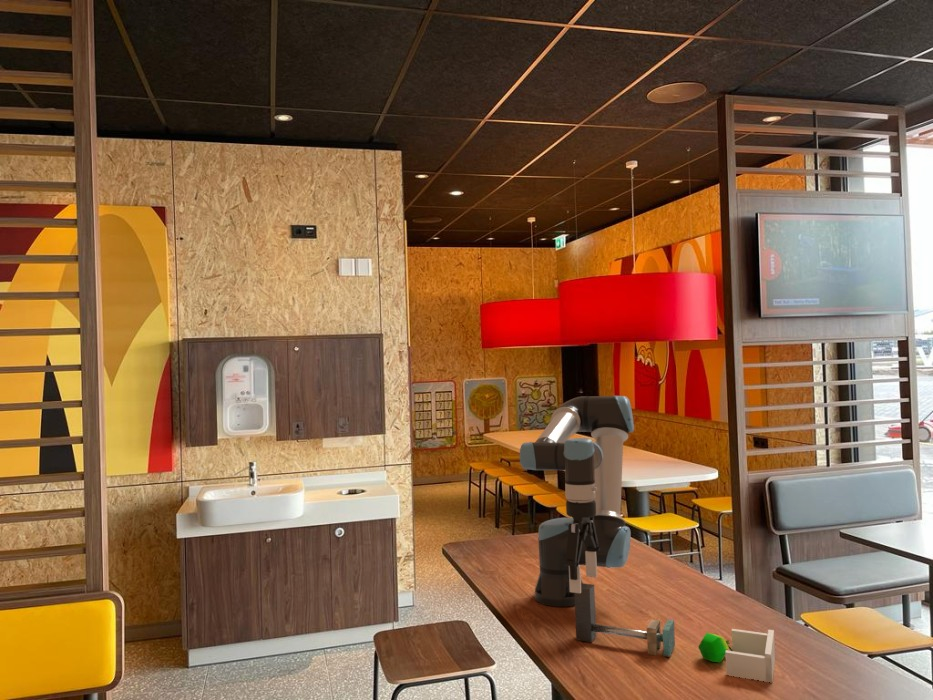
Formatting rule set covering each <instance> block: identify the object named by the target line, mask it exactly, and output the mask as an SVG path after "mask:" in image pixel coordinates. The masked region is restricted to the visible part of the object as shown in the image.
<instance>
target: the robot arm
mask: <svg viewBox="0 0 933 700" xmlns="http://www.w3.org/2000/svg"><path fill="white" fill-rule="evenodd" d="M631 405H632V404H631V402H630V399H629V398H628V397H627V396H625V395H600V396H598V395H597V396H595V395H594V396H591V395H590V396H588V395H585V396H583V395H581V396H577V397H574V398H572V399H569V400H566V401H565V402H563V403H562V404H560V405H559V406H558V407H557V408H556V409H555V410H554V411H553V412H552V414H551V418H550V422H549V423H548V424H547V425H546V427H545V429H544V430H543V431H542V433H540V435H539V436H538V438H537V439H536V441H534V442H532V441H529V442H523V443H522V444H521V445H520V447H519V463H520V466H521V468H522V469H523V470H530V471H531V470H532V471H564V478H565V481H564V483H565V485H564V486H565V487H564V488H565V490H564V491H565V499H566V501H565V513H566V515H567V516H568V517H567V516H566V517H557V518H552V519H549V520H548V519H547V520H545V521H543V522H541V523H540V524H539V527H538V537H537V541H538V558H539V559H538V560H539V561H538V562H539V574H538V578H537V580H536V585H535V589H534V599H535V600H536V602H537V603H539V604H542V605H545V606H549V607H556V608H557V607H558V608H559V607H562V608H563V607H573V606H574V607H575V595H574V593H581V583H583V580H582V577H581V575H582V573H581V566H585V577H586V578H587V577H588V578H594V579H596V578H598V567H599V568H600V567H601V568H602V567H603V568H607V569H610V568H622V567H624V566H625V565H626V564H627V561H628V559H629V554H630V550H631V535H632V534H631V533H632V532H631V529H630V526H627V525H626V520H625V519H624V518H623V517H622V515H621V509H622V508H621V507H622V488H623V487H622V486H623V485H622V484H623V482H622V481H623V461H624V460H623V455H624V443H625V442H626V441H627V440H628V439H629V433H630V434H631V433H634V431H635V425H634V424H635V423H634V418H633V417H634V415H633V411H632V406H631ZM581 432H583V433H585V432H586V433H590V435H591V437H592V439H593V440H595V442H594V441H593V440H592V439H591V438H585V437H584V438H581V437H578V438H577V437H576V438H570V437H572V435H575V434H576V433H581Z"/></svg>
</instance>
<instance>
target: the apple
mask: <svg viewBox="0 0 933 700" xmlns="http://www.w3.org/2000/svg"><path fill="white" fill-rule="evenodd" d="M729 644H730V645H731V642H730V640H729V639H728V640H725V637H723V636H721V635H719V634H714V633H709V632H706V633H705V635H704V636H703V637H702V639H701V641H700V642H699V645H698V649H699V652H700V654H701V656H702V658H703V659H705V660H707V661H710V662H714V663H722V661H723V659H724V657H726V655H725V652H726V650H728V651H733V650H732V647H730V646H729Z"/></svg>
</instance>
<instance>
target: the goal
mask: <svg viewBox="0 0 933 700" xmlns="http://www.w3.org/2000/svg"><path fill="white" fill-rule="evenodd" d="M775 641H776V640H775V630H774V629H767V633H765V632H759V631H752V630H744V629H738V628H731V646H732V647H731V649H732V650H733V651H731V650H729V649H728V650H726V652H725V672H726V676H727V675H729V676H728V677H733V676H734V677H735V678H739V677H740V678H741V679H745V678H746V680H751V679H754V680H753V681H757V680H759V682H763V681H764V683H769V682H770V683H769V684H772V683H773V680H774V679H773V678H774V672H775V671H774V670H775V664H776V663H775V662H776V648H775V647H776V644H775V643H776V642H775ZM734 677H733V678H734Z"/></svg>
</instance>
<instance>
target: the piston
mask: <svg viewBox="0 0 933 700" xmlns="http://www.w3.org/2000/svg"><path fill="white" fill-rule="evenodd" d="M574 595H575V605H574V614H575V616H574V618H575V639H576V641H582V642H588V643H593V641H594V640H595V639H596V637H597V633H601V634H606V635H607V634H608V635H615V636H622V637H626V638H627V637H628V638H635V639H641V640H647V630H646V631H645V630H638V629H631V628H625V627H619V626H618V627H617V626H613V625H605V624H599V623H596V622H597V621H596V619H597V618H596V596H595V584H591V583H584V582H582V583H581V593H574ZM661 632H662V633H661V634H660V633H657V641H659V642H661V643H662V646H663V647H662V649H663V652H662V653H663V656H664V657H668V658H669V657H671V655H672V653H673V650H674V648H675V647H676V643H675V642H676V640H675V639H676V637H675V636H676V635H675V620H674V619H667V621H666V622H665V624H664V626H663V628H662V631H661Z"/></svg>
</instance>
